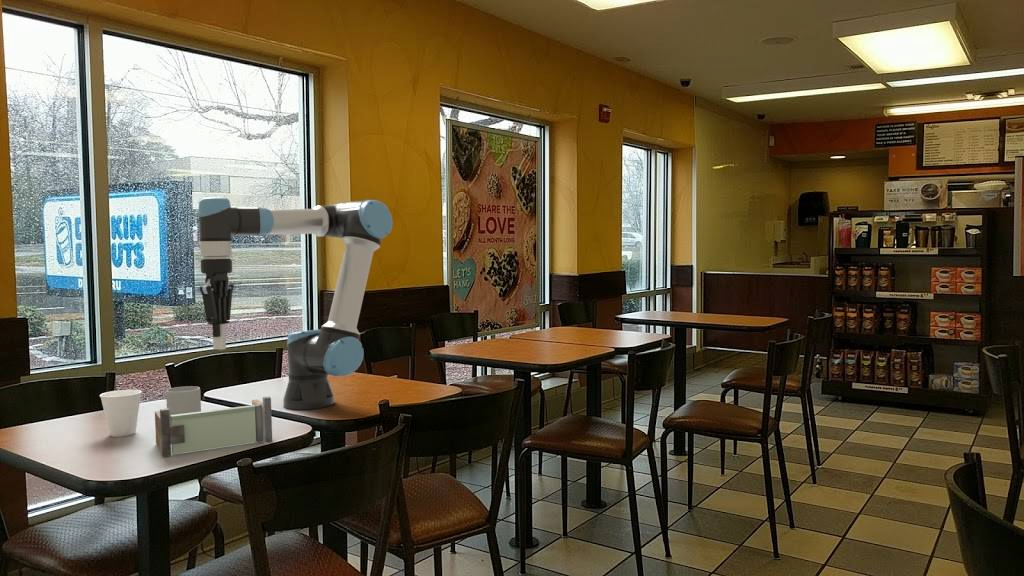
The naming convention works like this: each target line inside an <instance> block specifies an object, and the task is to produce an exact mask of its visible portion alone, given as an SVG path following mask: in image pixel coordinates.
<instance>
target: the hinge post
mask: <svg viewBox="0 0 1024 576" xmlns="http://www.w3.org/2000/svg"><path fill="white" fill-rule="evenodd" d="M251 405H254V406H255V405H262V415H263V442H265V443H270V442H273V420H272V397H271V396H263V397H262V401H260V400H259V399H252V400H251Z"/></svg>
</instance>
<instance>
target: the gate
mask: <svg viewBox="0 0 1024 576" xmlns="http://www.w3.org/2000/svg"><path fill="white" fill-rule="evenodd" d="M170 419H171V427H172V426H180V425H184V434H185V443H178V444H171V455H177V454H178V455H179V454H185V453H191V452H198V451H204V450H205V451H206V450H211V449H213V450H214V449H219V448H224V447H225V448H226V447H233V446H239V445H246V444H251V443H261V442H264V439H263V415H262V405H255V406H254V405H252V404H251V405H244V406H235V407H228V408H227V407H226V408H219V409H212V410H201V412H192V413H184V414H176V415H170Z"/></svg>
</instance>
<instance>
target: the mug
mask: <svg viewBox="0 0 1024 576" xmlns="http://www.w3.org/2000/svg"><path fill="white" fill-rule="evenodd" d="M165 393H166V394H165V398H166V400H165V401H166V408H168V409H169V414H170V415H176V414H184V413H192V412H201V411H202V403H201V402H202V400H201V396H202V395H201V388H200V387H199V386H192V385H190V386H188V385H187V386H177V387H171V388H168V389H166V392H165ZM170 427H171V419H170Z"/></svg>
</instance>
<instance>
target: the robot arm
mask: <svg viewBox="0 0 1024 576" xmlns="http://www.w3.org/2000/svg"><path fill="white" fill-rule="evenodd" d="M389 209H390V208H389V207H388V206H387V205H386V204H385V203H384V202H382V201H380V200H377V199H364V200H354V201H343V202H339V203H333V204H327V205H316V206H314V207H313V208H266V207H260V206H233V205H232V206H231V201H230V199H229V198H226V197H203V198H201V199H200V200H199V201H198V216H197V217H198V223H199V224H198V226H199V242H200V244H199V249H200V257H201V258H202V259H201V260H200V271H201V272H200V273H201V274H204V275H205V279H204V283H205V284H204V285H201V286H199V291H200V293H201V297H202V302H203V307H204V313H205V319H206V323H207V325H212V348H213V350H227V340H226V339H227V338H226V337H227V336H226V334H227V333H226V324H230V320H231V313H232V302H233V301H232V300H233V293H234V292H233V291H234V288H235V284H234V283H230V280H229V275H228V274H230V273H231V274H232V272H233V260H232V259H231V258H230V257H232V255H233V253H232V237H242V236H257V237H258V236H259V237H260V236H275V235H281V236H282V235H305V234H306V235H308V234H309V235H311V234H313V235H315V237H319V238H320V237H326V238H327V237H330V238H337V239H341V240H342V242H343V243H344V245H345V246H344V251H343V255H342V259H341V260H342V261H341V263H340V267H339V272H338V276H337V280H336V285H335V289H334V293H333V297H332V301H331V302H332V303H331V306H330V311H329V315H328V319H327V322H326V323H324V324H323V325H321V327H320V329H319V328H318V329H311V330H304V331H295V332H290V333H289V334H288V335H287V342H286V343H287V344H286V348H287V368H288V370H287V371H288V382H287V385H286V389H285V393H284V396H283V401H282V402H283V407H284V409H285V408H286V409H291V410H313V409H321V408H325V407H330V406H332V405H334V404H335V395H334V392H333V390H332V387H331V384H330V381H329V378H328V375H330V376H331V377H332V376H333V377H347V376H350V375H352V374H353V373H354V372H356V371H358V369H359V367H360V366H361V365H362V362H363V360H364V356H365V355H364V353H365V352H364V347H363V344H362V343H361V341H360V337H361V333H360V332H359V330H358V328H357V327H358V322H359V318H360V314H361V310H362V305H363V300H364V296H365V293H366V292H365V291H366V287H367V281H368V279H369V274H370V270H371V269H370V268H371V264H372V260H373V256H374V252H376V251H377V250H379V249H380V247H381V243H382V239H384V238H385V237H387V236H388V235H389V234H390V233H391V232H392V229H393V217H392V213H391V212H390V210H389Z"/></svg>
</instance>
